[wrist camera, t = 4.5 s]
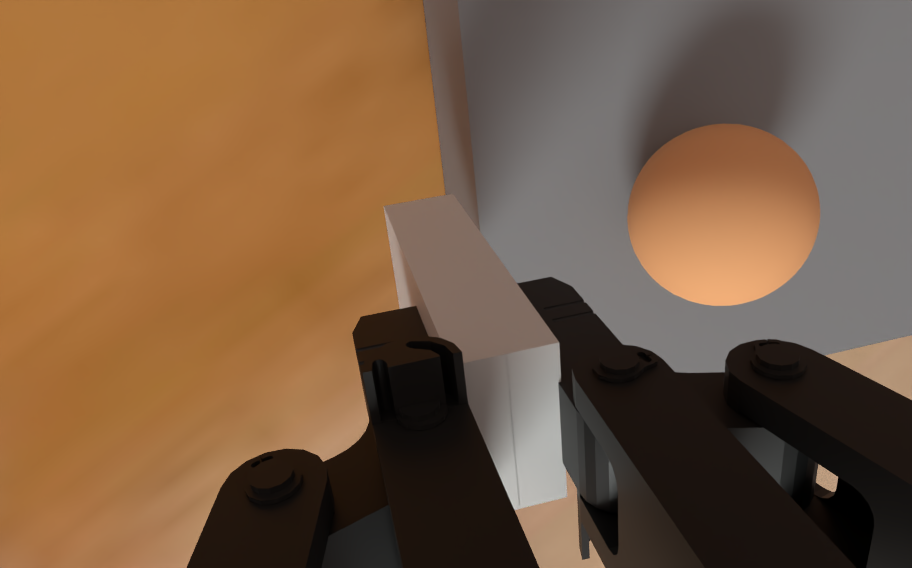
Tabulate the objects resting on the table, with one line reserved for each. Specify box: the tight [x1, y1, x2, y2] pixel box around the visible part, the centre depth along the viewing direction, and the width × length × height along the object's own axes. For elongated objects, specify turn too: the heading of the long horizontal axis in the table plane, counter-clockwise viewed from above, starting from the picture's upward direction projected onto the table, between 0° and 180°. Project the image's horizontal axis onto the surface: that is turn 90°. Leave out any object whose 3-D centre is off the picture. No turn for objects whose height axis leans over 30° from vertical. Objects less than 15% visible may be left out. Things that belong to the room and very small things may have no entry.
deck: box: [423, 0, 912, 373], centre depth 20 cm, size 16×12×4 cm
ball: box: [627, 123, 820, 306], centre depth 16 cm, size 4×4×4 cm
